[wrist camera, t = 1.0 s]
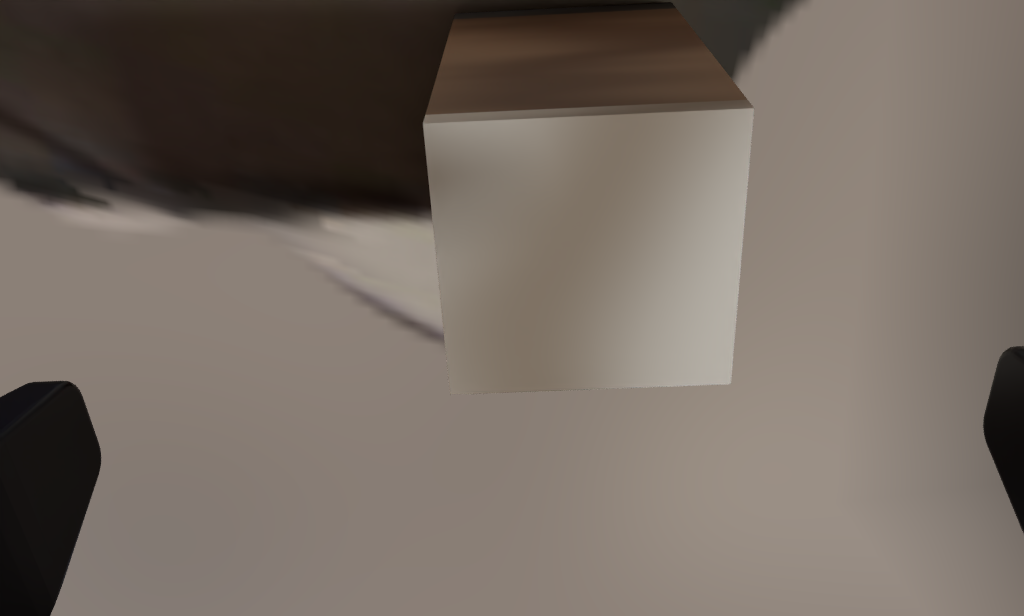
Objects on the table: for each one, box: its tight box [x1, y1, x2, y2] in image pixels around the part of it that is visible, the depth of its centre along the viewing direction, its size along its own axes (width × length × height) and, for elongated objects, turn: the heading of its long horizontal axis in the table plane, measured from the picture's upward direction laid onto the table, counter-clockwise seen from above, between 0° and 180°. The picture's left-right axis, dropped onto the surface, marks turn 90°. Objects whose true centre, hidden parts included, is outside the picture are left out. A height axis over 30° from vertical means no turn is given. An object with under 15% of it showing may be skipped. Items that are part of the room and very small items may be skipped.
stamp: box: [423, 3, 754, 395], centre depth 17 cm, size 4×4×7 cm
